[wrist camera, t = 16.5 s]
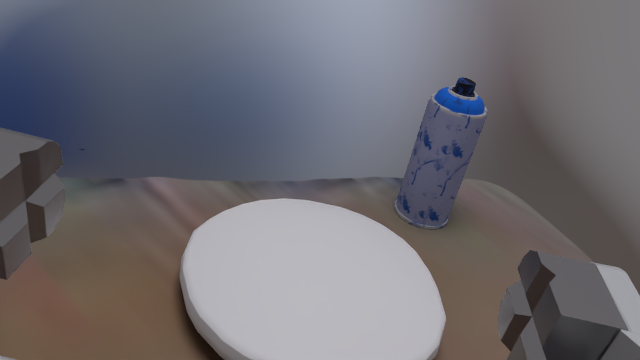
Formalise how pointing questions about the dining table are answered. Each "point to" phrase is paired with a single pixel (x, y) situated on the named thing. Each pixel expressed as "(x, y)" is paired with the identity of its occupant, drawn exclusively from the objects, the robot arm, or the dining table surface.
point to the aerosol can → (441, 155)
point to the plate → (308, 286)
